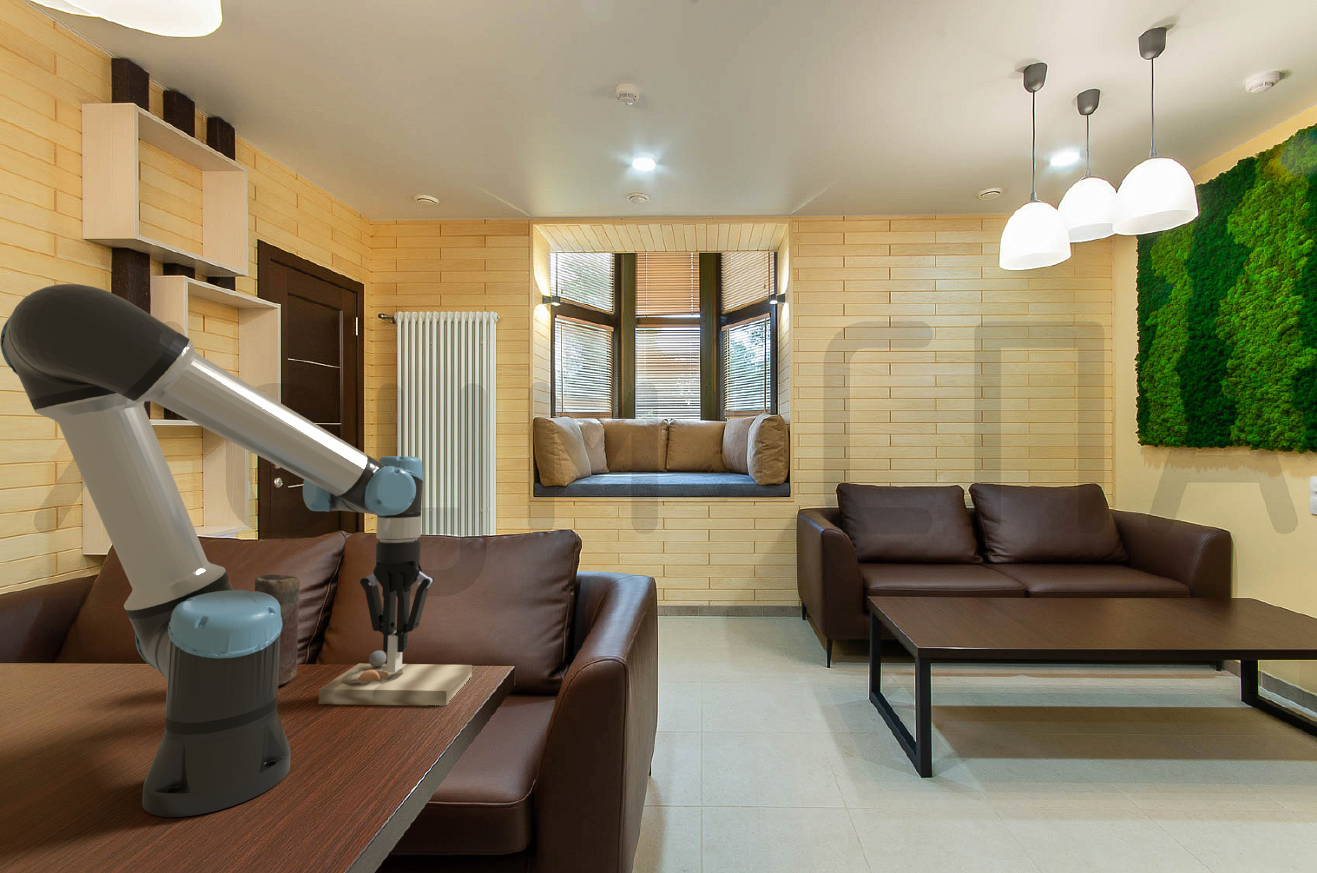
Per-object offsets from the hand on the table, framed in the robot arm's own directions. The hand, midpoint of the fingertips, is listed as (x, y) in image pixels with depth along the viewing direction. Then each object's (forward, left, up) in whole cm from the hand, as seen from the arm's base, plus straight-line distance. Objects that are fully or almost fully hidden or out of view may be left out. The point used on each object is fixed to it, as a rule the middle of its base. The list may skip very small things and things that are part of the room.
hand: (394, 669), depth 106 cm
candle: (+17, +16, -4) cm, 24 cm away
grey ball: (+7, +1, 0) cm, 7 cm away
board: (-1, -1, -4) cm, 4 cm away
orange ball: (+3, +3, -2) cm, 5 cm away
